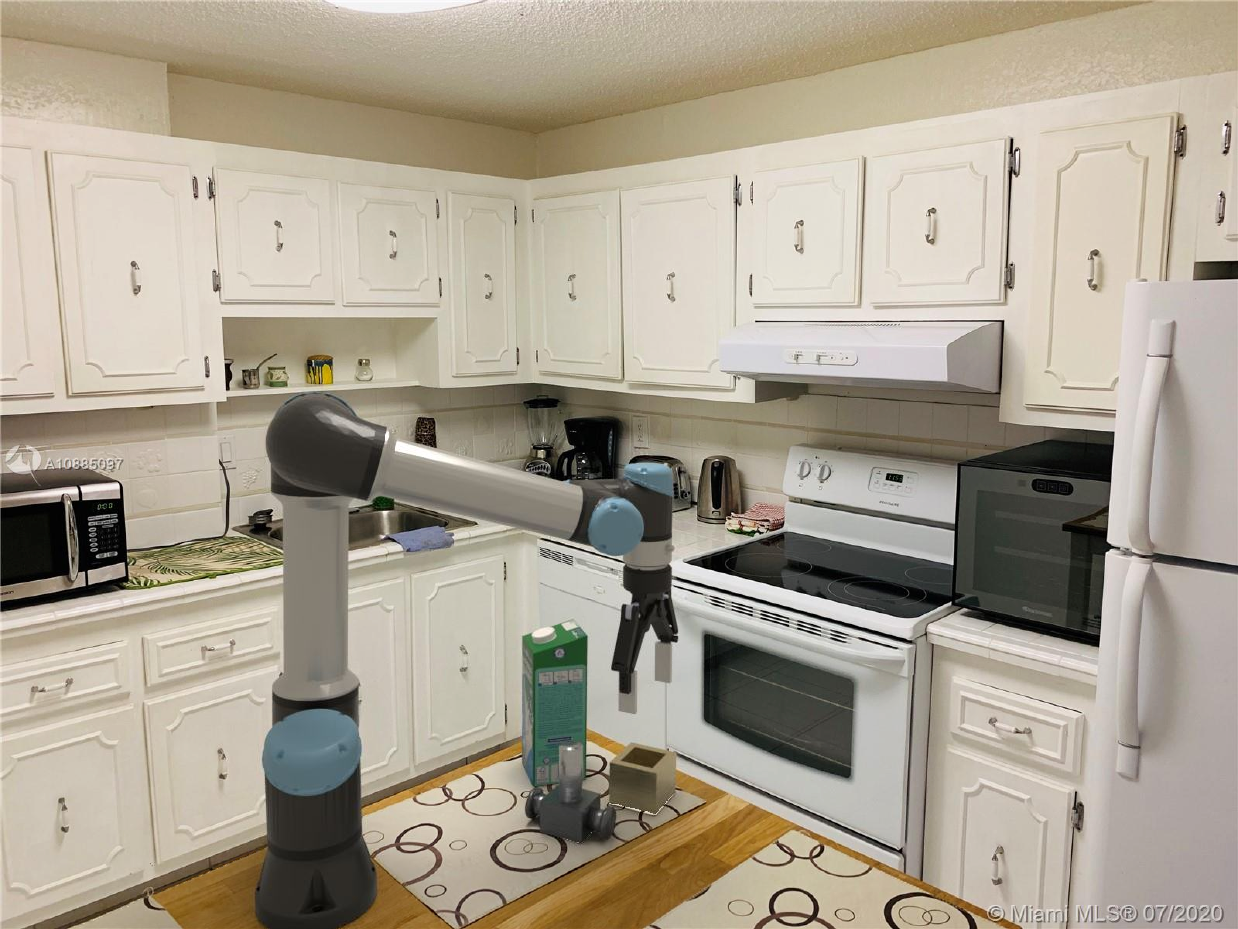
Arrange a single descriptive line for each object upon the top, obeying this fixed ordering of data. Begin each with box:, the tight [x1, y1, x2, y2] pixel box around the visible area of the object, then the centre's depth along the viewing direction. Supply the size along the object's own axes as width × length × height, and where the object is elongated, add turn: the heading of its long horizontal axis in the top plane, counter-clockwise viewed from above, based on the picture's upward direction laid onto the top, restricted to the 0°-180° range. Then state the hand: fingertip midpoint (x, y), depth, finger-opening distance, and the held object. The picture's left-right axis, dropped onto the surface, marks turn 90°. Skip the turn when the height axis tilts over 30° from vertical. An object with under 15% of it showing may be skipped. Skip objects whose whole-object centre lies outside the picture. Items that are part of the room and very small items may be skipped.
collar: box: [608, 742, 677, 814], centre depth 146 cm, size 8×8×7 cm
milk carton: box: [521, 619, 589, 788], centre depth 153 cm, size 9×9×25 cm
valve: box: [524, 741, 617, 844], centre depth 136 cm, size 13×6×13 cm, turn 64°
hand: (646, 696), depth 144 cm, fingers open, 13 cm apart
